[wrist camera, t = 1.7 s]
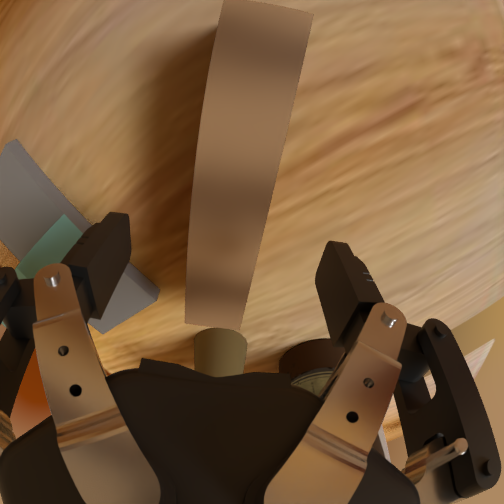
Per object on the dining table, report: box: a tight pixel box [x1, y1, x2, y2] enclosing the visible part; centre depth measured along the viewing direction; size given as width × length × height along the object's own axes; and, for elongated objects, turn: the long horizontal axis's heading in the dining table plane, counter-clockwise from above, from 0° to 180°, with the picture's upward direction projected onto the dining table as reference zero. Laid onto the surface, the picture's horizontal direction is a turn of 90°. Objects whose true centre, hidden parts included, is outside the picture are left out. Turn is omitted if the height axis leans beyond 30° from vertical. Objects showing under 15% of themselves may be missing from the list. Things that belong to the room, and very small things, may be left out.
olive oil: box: [279, 339, 385, 457], centre depth 22 cm, size 11×11×25 cm
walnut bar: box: [185, 0, 314, 330], centre depth 16 cm, size 20×4×6 cm, turn 170°
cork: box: [194, 328, 247, 377], centre depth 25 cm, size 6×6×11 cm
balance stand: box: [0, 139, 160, 334], centre depth 18 cm, size 20×10×8 cm, turn 35°
